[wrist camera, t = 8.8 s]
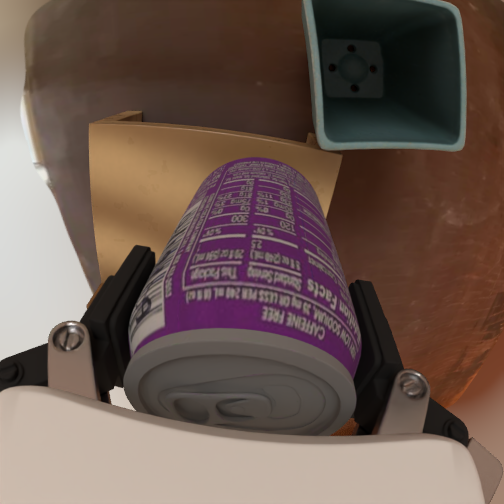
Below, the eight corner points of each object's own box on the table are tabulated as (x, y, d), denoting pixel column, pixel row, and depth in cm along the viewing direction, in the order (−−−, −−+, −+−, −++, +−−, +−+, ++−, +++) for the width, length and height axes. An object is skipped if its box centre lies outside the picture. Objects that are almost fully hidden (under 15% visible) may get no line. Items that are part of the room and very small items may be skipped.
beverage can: (207, 270, 20) (160, 450, 9) (183, 162, 16) (58, 320, 6) (320, 262, 19) (353, 451, 9) (316, 148, 15) (404, 308, 5)
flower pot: (406, 124, 21) (466, 153, 13) (300, 125, 22) (317, 152, 14) (400, 22, 16) (460, 5, 9) (288, 17, 17) (299, -17, 10)
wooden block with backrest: (127, 110, 22) (62, 133, 14) (325, 135, 22) (356, 169, 14) (128, 254, 29) (88, 316, 21) (288, 280, 30) (293, 354, 22)
